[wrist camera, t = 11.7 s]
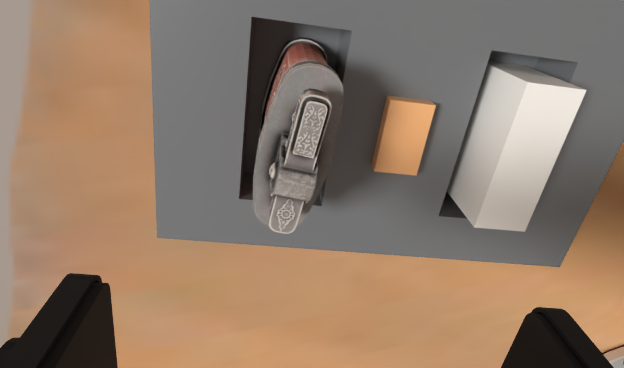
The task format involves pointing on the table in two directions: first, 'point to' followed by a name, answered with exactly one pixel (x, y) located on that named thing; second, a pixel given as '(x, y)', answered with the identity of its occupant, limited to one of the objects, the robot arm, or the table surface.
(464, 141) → the seated plug
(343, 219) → the grey rectangular block
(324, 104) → the lighter
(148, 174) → the table surface
